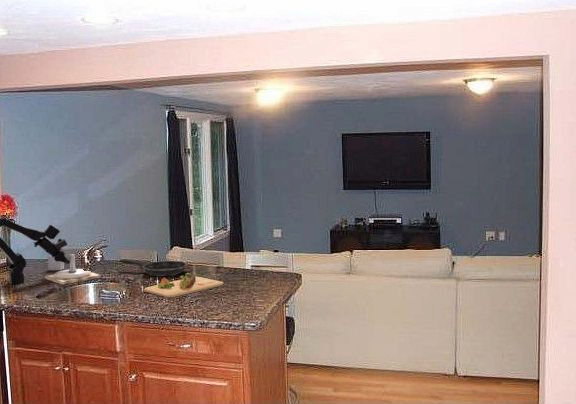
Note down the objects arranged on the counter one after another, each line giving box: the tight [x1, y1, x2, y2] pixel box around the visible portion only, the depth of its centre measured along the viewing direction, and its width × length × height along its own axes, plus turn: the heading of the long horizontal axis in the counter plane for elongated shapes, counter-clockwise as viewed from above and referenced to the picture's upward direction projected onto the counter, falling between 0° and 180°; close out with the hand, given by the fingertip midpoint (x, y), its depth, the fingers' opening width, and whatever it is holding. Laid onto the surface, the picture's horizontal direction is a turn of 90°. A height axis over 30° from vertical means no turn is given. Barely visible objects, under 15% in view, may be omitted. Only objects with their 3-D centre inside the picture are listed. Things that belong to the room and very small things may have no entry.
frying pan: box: [119, 258, 188, 277], centre depth 342 cm, size 44×25×7 cm, turn 67°
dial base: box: [44, 271, 101, 285], centre depth 331 cm, size 22×22×2 cm
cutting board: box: [143, 272, 224, 299], centre depth 302 cm, size 35×23×8 cm
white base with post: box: [54, 253, 92, 279], centre depth 330 cm, size 19×19×10 cm
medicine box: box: [47, 255, 65, 271], centre depth 355 cm, size 8×4×9 cm, turn 84°
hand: (69, 263), depth 337 cm, fingers closed
